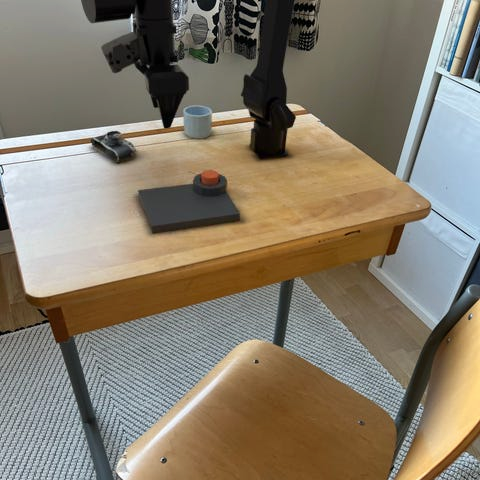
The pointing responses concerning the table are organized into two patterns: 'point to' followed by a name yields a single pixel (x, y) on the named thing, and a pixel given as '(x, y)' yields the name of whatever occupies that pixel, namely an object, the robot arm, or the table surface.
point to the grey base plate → (188, 205)
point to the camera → (114, 146)
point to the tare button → (210, 177)
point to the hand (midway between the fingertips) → (161, 117)
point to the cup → (197, 121)
